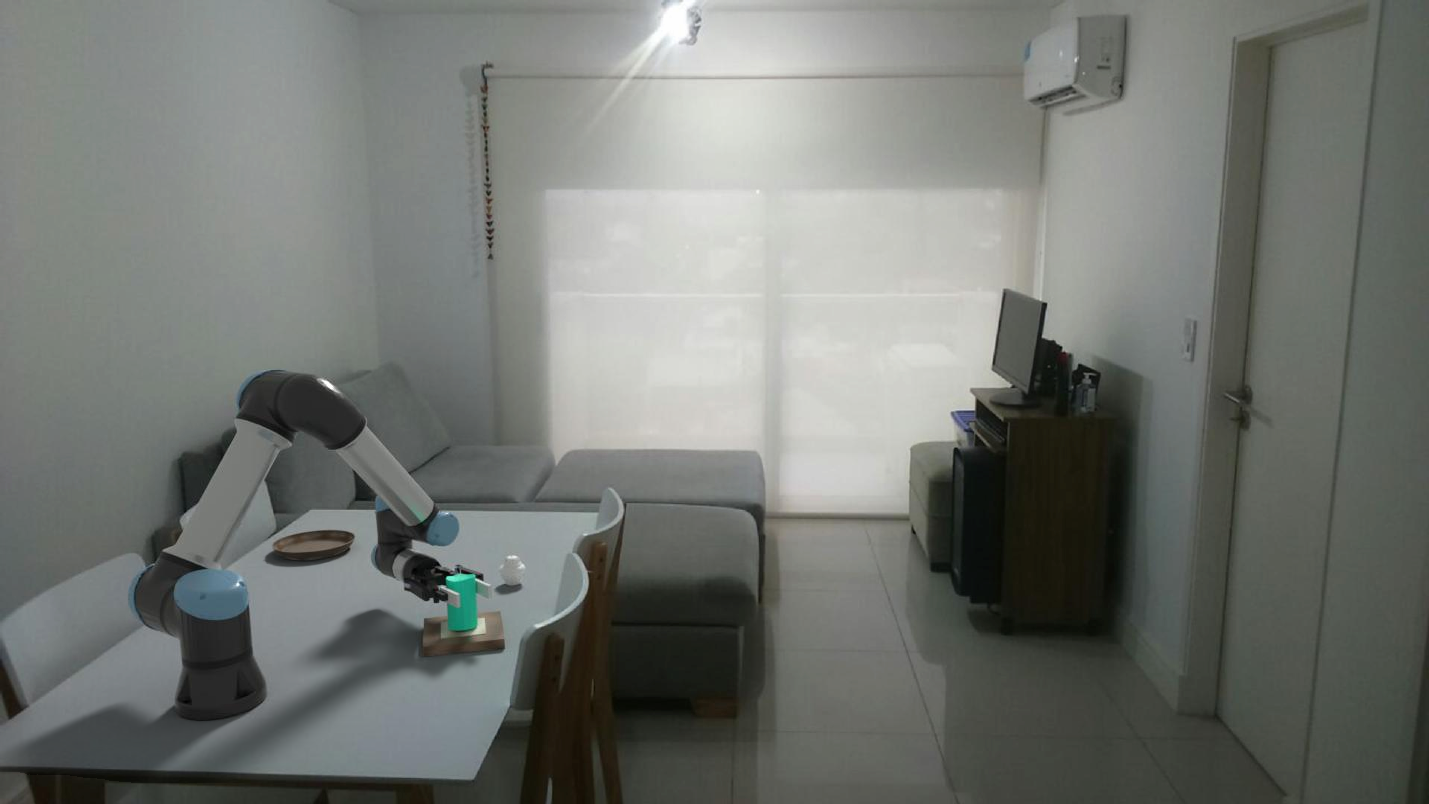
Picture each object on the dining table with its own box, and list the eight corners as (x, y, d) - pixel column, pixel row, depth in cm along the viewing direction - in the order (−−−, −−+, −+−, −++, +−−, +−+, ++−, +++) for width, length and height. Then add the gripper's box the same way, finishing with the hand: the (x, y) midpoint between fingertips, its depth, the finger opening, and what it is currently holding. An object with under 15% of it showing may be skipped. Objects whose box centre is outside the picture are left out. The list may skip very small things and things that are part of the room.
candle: (483, 625, 221) (481, 568, 220) (459, 632, 216) (456, 574, 215) (466, 620, 225) (463, 564, 224) (442, 627, 220) (439, 570, 219)
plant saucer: (270, 546, 285) (269, 534, 284) (350, 536, 293) (350, 524, 293) (275, 569, 266) (274, 556, 266) (361, 557, 275) (360, 544, 275)
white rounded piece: (529, 579, 256) (528, 551, 255) (522, 588, 250) (520, 559, 249) (504, 578, 257) (502, 551, 255) (496, 587, 251) (495, 559, 249)
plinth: (423, 656, 211) (422, 646, 211) (424, 627, 227) (424, 617, 226) (504, 648, 215) (504, 638, 215) (500, 619, 230) (500, 610, 230)
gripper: (458, 576, 239) (515, 601, 223) (377, 598, 226) (431, 626, 209) (456, 544, 238) (514, 567, 221) (374, 564, 224) (429, 590, 208)
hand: (474, 596), depth 215 cm, fingers open, 7 cm apart
